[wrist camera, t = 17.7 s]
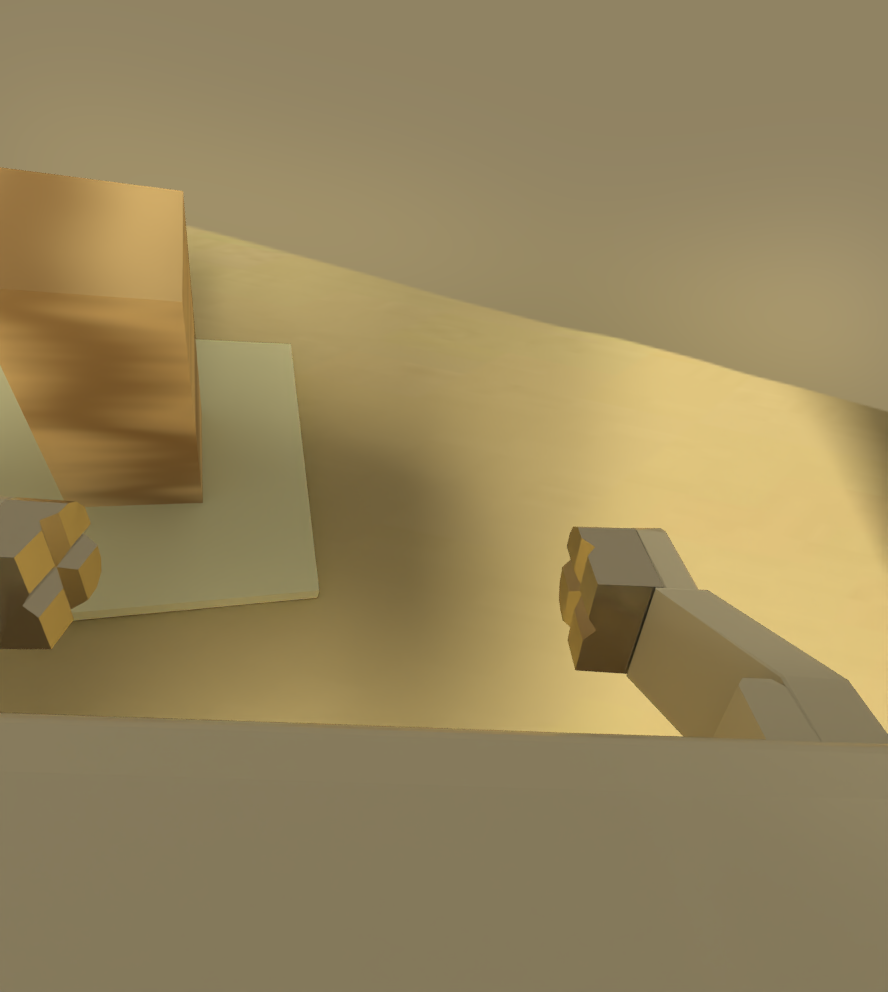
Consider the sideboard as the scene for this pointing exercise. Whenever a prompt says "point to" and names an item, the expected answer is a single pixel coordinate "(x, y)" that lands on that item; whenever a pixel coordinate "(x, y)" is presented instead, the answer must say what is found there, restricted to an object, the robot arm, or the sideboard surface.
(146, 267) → the maple block
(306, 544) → the sage mat
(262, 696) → the sideboard surface
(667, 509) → the sideboard surface
